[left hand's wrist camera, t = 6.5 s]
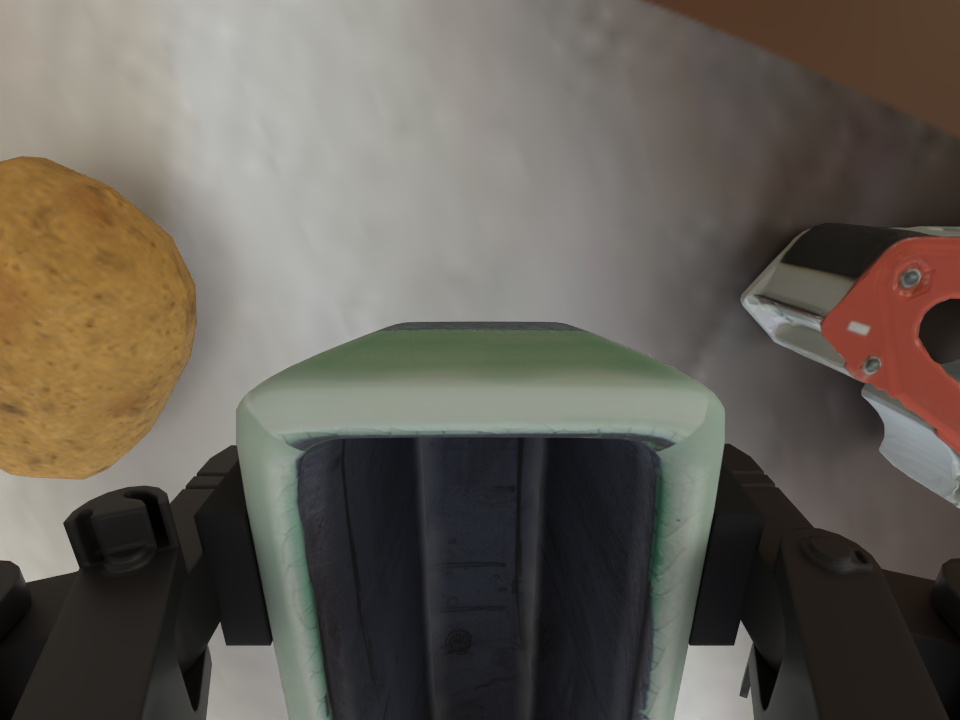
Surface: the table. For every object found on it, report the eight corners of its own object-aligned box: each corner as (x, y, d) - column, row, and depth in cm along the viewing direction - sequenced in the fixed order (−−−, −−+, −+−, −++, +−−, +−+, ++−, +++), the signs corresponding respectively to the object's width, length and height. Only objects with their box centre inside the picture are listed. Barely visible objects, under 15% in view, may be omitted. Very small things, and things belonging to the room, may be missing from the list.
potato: (-40, 348, 24) (-234, 420, 17) (70, 108, 20) (-122, 87, 14) (147, 456, 26) (37, 556, 19) (278, 257, 22) (196, 300, 16)
